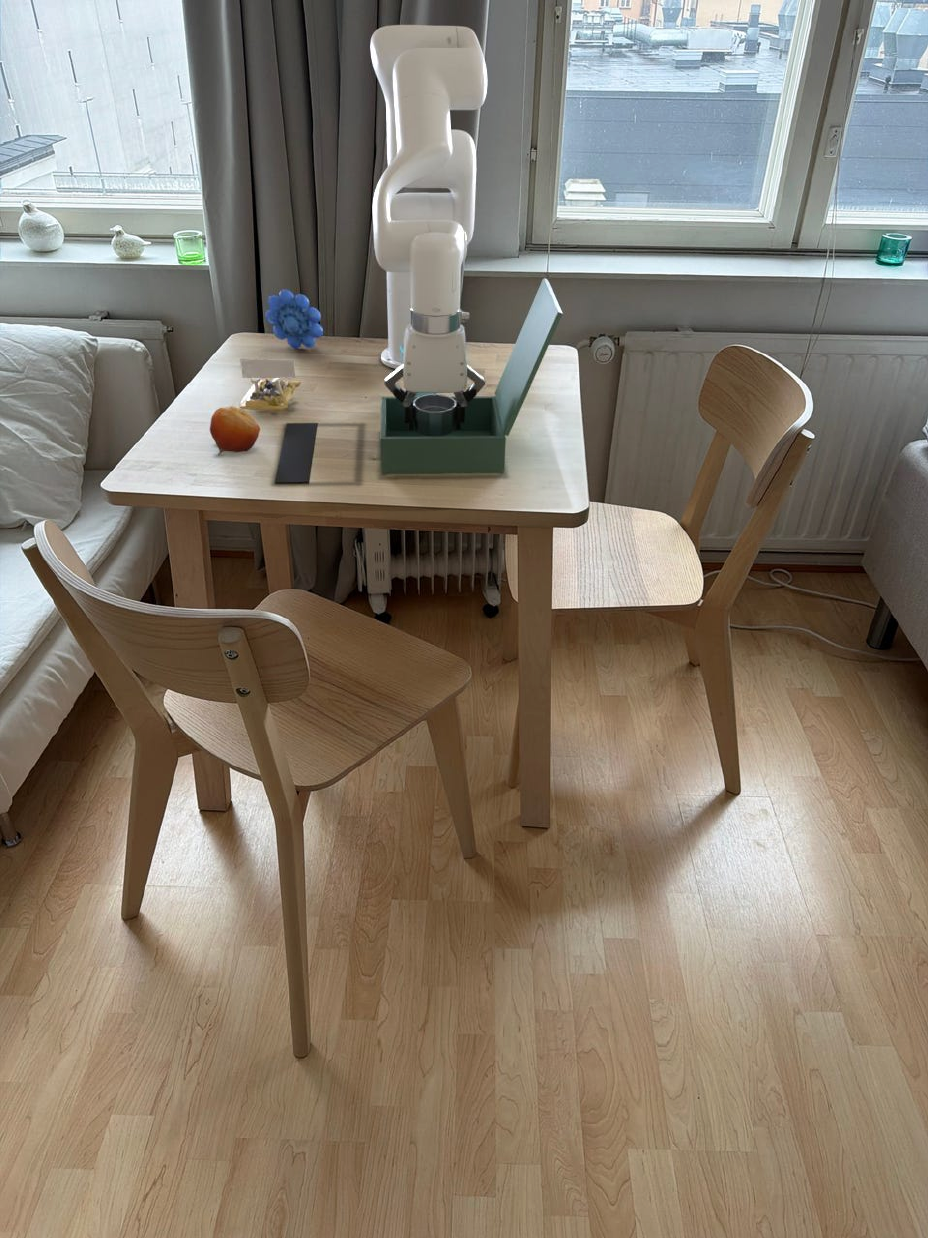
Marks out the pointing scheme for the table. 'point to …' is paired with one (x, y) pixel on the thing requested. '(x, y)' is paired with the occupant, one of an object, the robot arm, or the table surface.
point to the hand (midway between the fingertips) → (434, 425)
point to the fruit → (233, 429)
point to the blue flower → (294, 319)
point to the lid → (527, 355)
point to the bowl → (434, 415)
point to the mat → (297, 454)
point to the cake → (268, 384)
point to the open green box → (443, 442)
